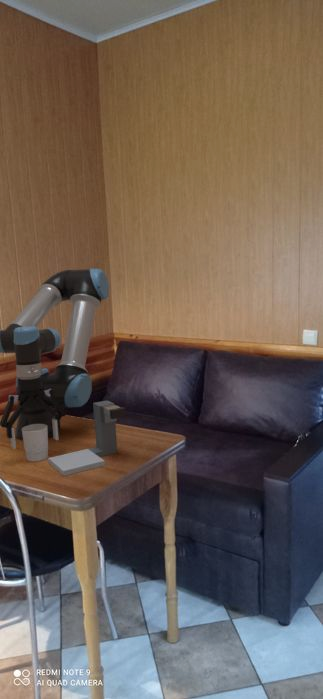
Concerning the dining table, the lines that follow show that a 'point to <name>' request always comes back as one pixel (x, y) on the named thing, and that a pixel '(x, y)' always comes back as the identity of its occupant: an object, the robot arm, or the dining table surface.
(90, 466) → the frame
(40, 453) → the white cup
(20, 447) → the dining table surface
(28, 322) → the robot arm
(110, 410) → the handle
